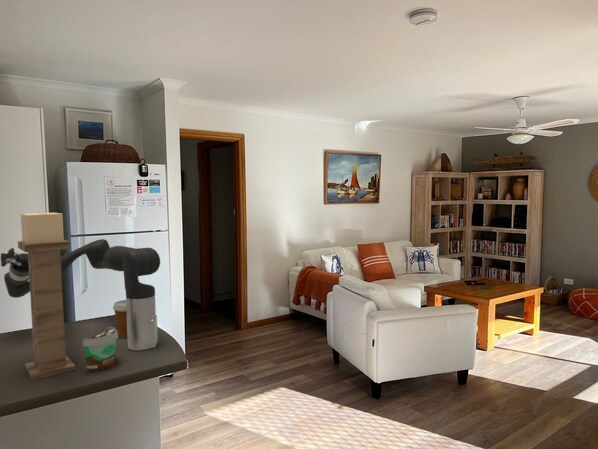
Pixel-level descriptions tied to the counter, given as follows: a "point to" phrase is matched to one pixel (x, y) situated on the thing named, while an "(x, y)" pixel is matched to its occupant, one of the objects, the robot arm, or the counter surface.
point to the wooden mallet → (42, 228)
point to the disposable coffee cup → (121, 317)
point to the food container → (101, 350)
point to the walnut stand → (47, 309)
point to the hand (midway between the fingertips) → (28, 249)
